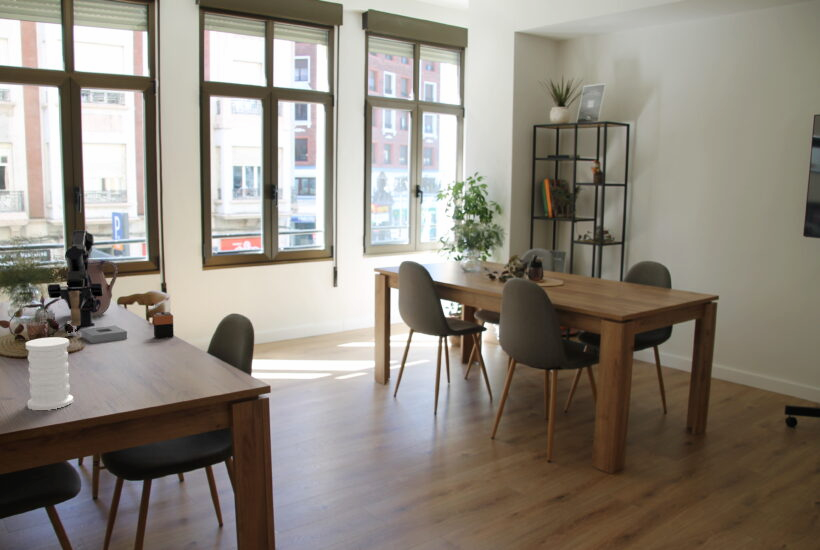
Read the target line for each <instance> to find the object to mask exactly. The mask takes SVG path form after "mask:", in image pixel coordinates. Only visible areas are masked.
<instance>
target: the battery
mask: <svg viewBox="0 0 820 550" xmlns="http://www.w3.org/2000/svg"><path fill="white" fill-rule="evenodd" d="M174 334H175V332H174V315H173V314H172V313H171V312H170V311H164V313H161V312H156V314H153V336H154V338H155V339H157V340H158V339H159V340H160V339H169V338H174V336H175V335H174Z"/></svg>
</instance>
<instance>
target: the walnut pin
mask: <svg viewBox="0 0 820 550" xmlns="http://www.w3.org/2000/svg"><path fill="white" fill-rule="evenodd" d="M70 306H71V309H70V321H71V325H72V326H76V327H78V326H79V325H81V320H80V308H79V307H80V299H79V291H70Z"/></svg>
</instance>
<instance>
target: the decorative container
mask: <svg viewBox="0 0 820 550" xmlns="http://www.w3.org/2000/svg"><path fill="white" fill-rule="evenodd" d="M69 346H70V340H69V339H68V337H67V338H65V337H54V336H53V337H51V336H50V337H41V338H40V337H39V338H35V339H31V340H28V341H26V342H25V349H26V350H27V351H28V354H27V361H28V362H29V364H28V368H27V369H28V372H29V378H28V381H29V382H28V383H29V384H30V387H29V394H30V397H31V398H30V399H29V400H28V401H27V404H26V405H27V409H29V410H31V409H32V411H36V410H48V411H52V410H51V409H56V410H58V409H57V408H61V407H64V406H66V405H69V404H70V403H72V402H73V403H74V396H73V395H72V394H70V389H71V386H70V383H69V380H70V374H69V370H68V369H69V366H70V364H69V362H68V358H69V352H68V348H67V347H69ZM73 403H72V404H73ZM69 406H70V405H69ZM64 408H65V407H64ZM61 409H62V408H61Z"/></svg>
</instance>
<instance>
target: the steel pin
mask: <svg viewBox="0 0 820 550" xmlns="http://www.w3.org/2000/svg"><path fill="white" fill-rule="evenodd" d="M66 324H70V325H71V320H67V321H66ZM71 326H72V325H71ZM72 327H73V332H71V333H68V332H67V337H68V336H76V335H77V334H78V333H77V332H78V331H76V332H75V329H76V330H77V326H72ZM76 337H77V336H76Z"/></svg>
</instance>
